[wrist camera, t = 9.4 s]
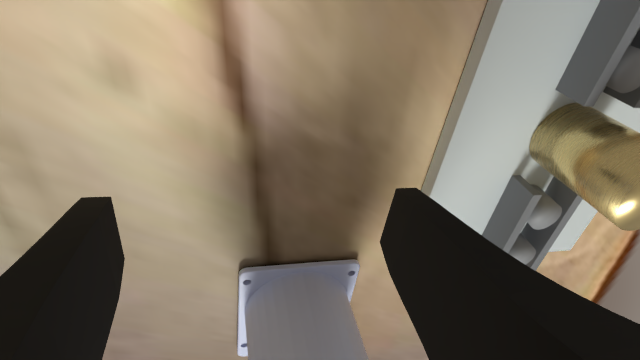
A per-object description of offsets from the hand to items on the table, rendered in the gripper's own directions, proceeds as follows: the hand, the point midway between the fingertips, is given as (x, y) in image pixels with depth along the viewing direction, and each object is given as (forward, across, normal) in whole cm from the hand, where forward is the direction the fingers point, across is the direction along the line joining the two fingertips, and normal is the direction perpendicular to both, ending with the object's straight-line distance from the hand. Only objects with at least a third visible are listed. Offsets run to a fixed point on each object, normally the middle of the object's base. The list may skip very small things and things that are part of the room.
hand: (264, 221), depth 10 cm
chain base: (+9, -18, +2) cm, 20 cm away
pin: (+8, -18, +2) cm, 20 cm away
